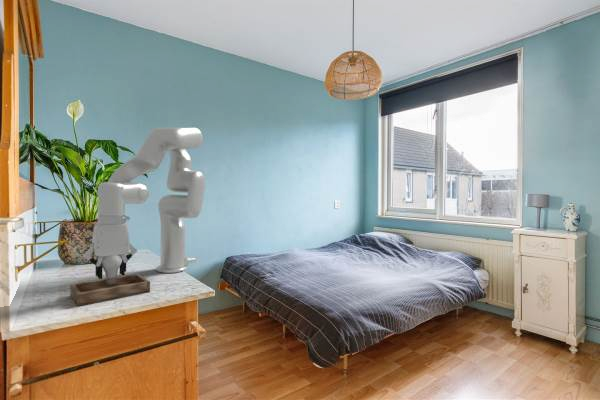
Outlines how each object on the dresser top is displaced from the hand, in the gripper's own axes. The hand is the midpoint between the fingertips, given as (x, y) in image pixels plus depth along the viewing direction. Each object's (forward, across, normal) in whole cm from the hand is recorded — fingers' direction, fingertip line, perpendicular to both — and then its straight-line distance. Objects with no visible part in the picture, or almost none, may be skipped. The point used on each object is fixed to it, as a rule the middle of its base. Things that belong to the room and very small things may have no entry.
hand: (111, 275), depth 102 cm
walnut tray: (+6, 0, 0) cm, 6 cm away
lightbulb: (+3, 0, 0) cm, 3 cm away
